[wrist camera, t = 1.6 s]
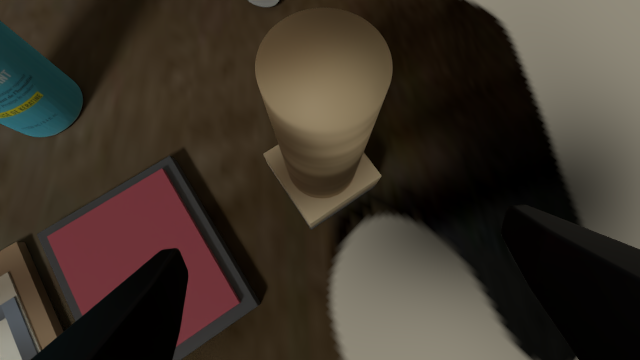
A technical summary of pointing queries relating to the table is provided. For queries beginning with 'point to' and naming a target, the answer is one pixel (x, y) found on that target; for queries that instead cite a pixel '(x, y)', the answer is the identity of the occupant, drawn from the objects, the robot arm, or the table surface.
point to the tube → (34, 90)
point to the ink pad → (150, 251)
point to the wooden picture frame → (23, 306)
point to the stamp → (323, 106)
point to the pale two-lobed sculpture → (264, 2)
